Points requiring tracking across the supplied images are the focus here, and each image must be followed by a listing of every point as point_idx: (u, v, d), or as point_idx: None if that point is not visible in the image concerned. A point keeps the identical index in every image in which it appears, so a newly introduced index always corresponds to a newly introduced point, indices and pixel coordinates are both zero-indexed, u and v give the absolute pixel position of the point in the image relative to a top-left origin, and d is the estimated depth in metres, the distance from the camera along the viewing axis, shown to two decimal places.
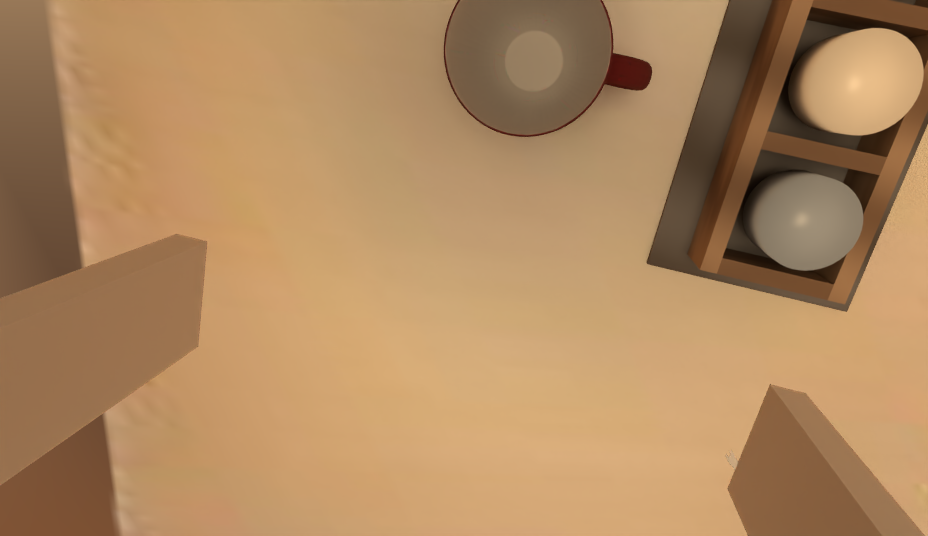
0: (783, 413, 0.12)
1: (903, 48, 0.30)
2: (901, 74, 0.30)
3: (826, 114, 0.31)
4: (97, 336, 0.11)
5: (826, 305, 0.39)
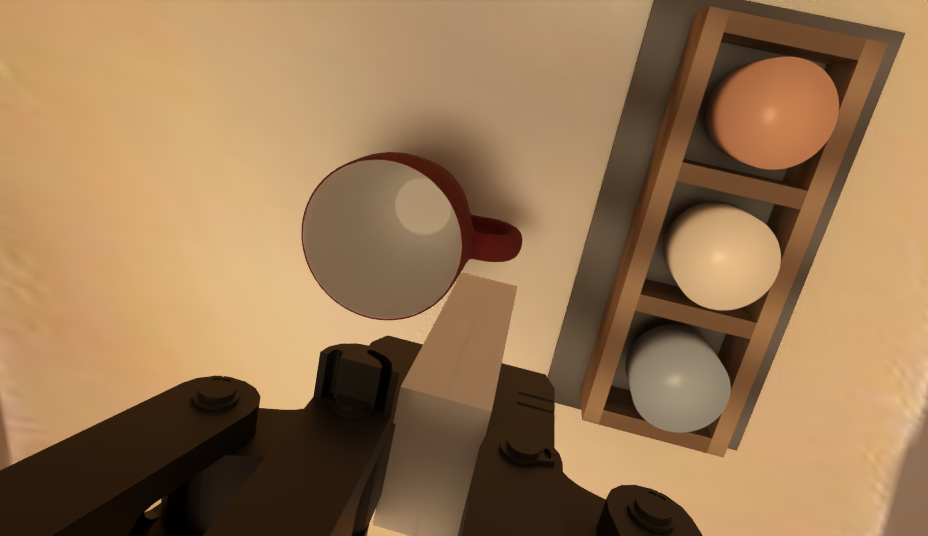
0: None
1: (760, 232, 0.30)
2: (759, 255, 0.31)
3: (689, 289, 0.32)
4: None
5: None
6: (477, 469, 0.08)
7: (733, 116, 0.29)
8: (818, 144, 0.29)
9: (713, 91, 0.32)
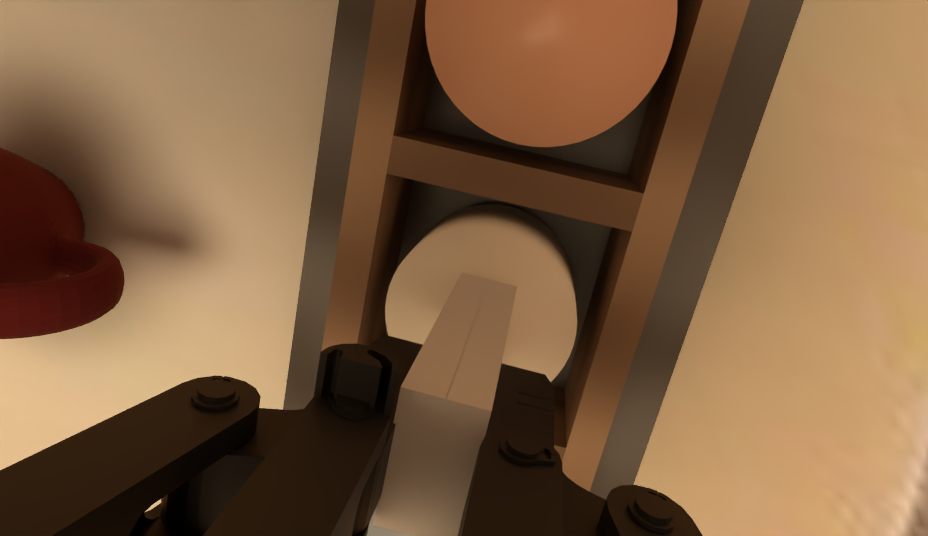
0: None
1: (533, 264, 0.16)
2: (537, 308, 0.16)
3: None
4: None
5: None
6: (476, 469, 0.08)
7: (449, 27, 0.13)
8: (637, 88, 0.13)
9: None
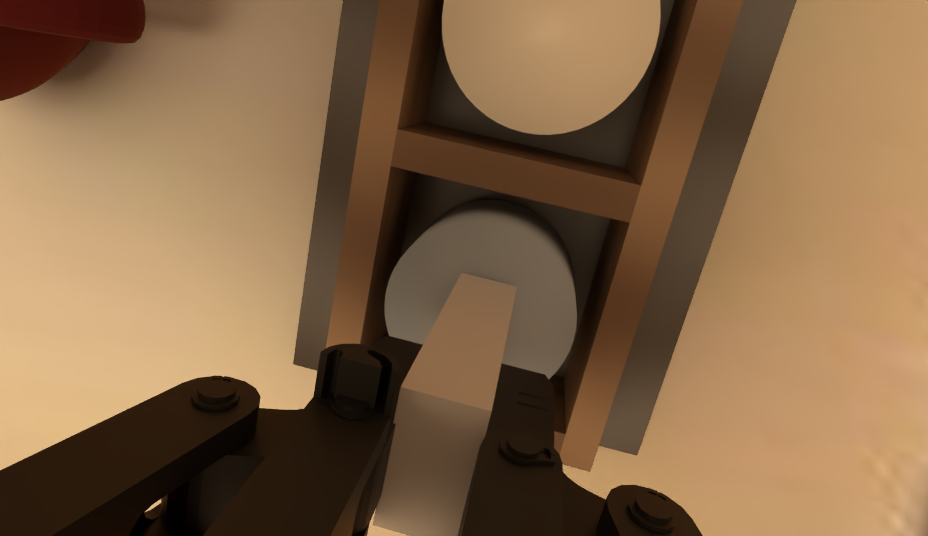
0: None
1: None
2: (616, 4, 0.14)
3: (479, 91, 0.15)
4: None
5: (601, 443, 0.22)
6: (476, 469, 0.08)
7: None
8: None
9: None
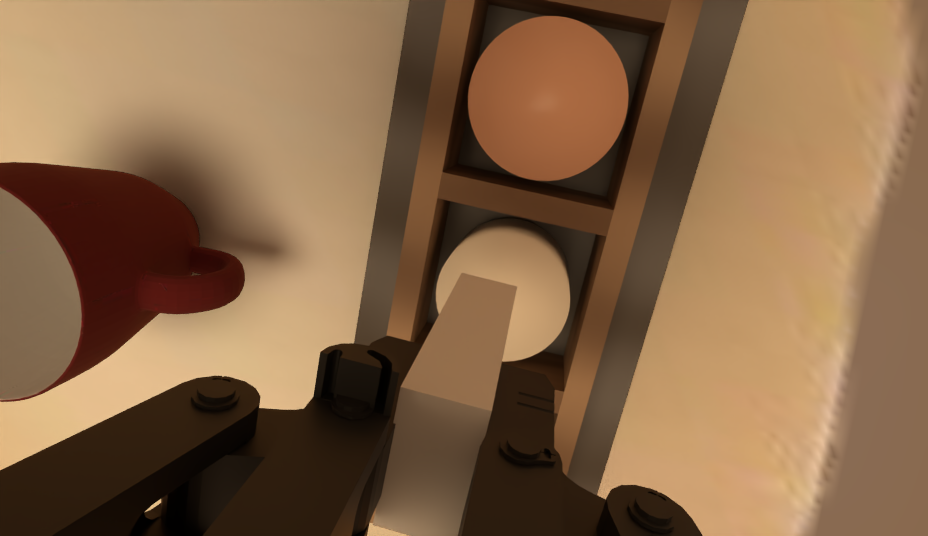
0: None
1: (539, 259, 0.23)
2: (542, 290, 0.23)
3: None
4: None
5: None
6: (477, 469, 0.08)
7: (483, 105, 0.20)
8: (604, 143, 0.20)
9: None
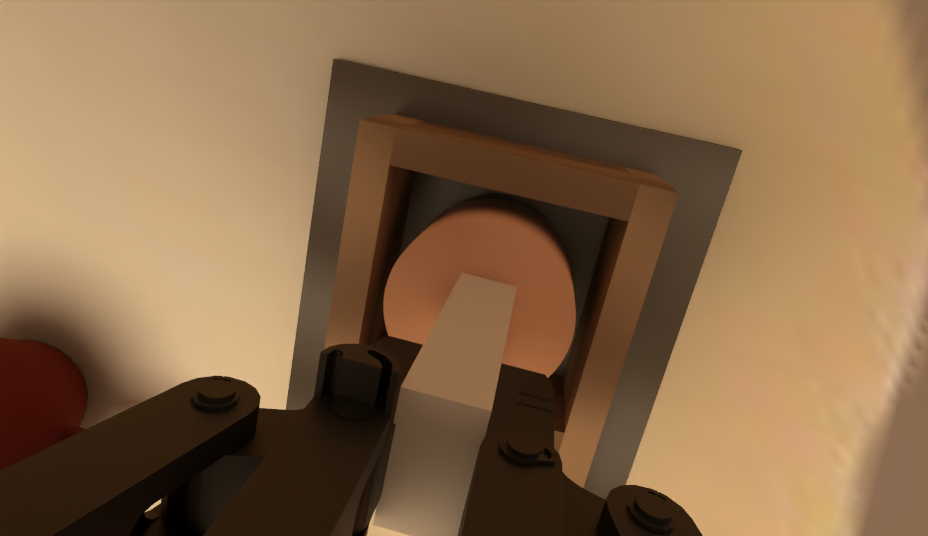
0: None
1: None
2: None
3: None
4: None
5: None
6: (476, 469, 0.08)
7: (402, 314, 0.17)
8: (547, 366, 0.16)
9: None
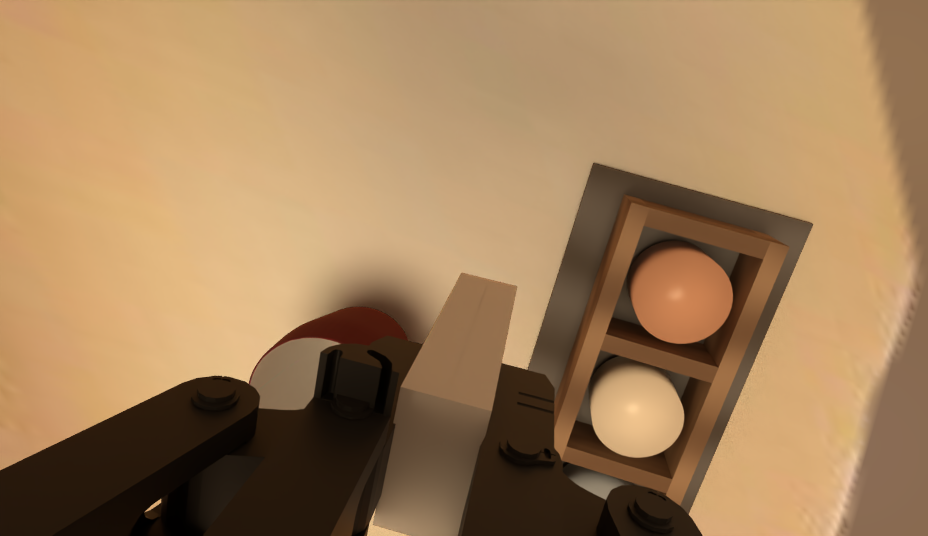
0: None
1: (666, 394, 0.35)
2: (665, 413, 0.35)
3: (605, 438, 0.36)
4: None
5: None
6: (477, 469, 0.08)
7: (643, 297, 0.33)
8: (715, 326, 0.33)
9: (633, 263, 0.36)
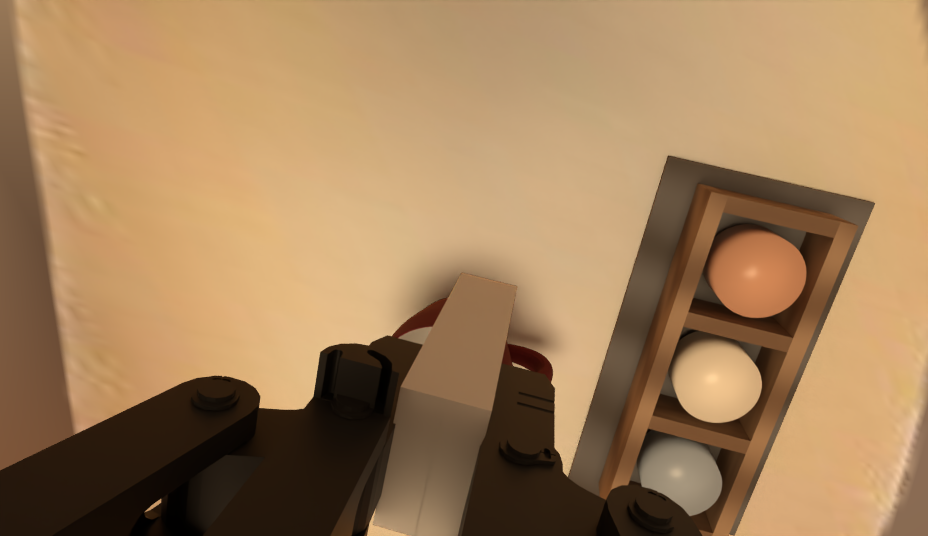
0: None
1: (745, 364, 0.38)
2: (744, 382, 0.38)
3: (689, 406, 0.39)
4: None
5: None
6: (476, 469, 0.08)
7: (723, 277, 0.37)
8: (790, 300, 0.37)
9: None
